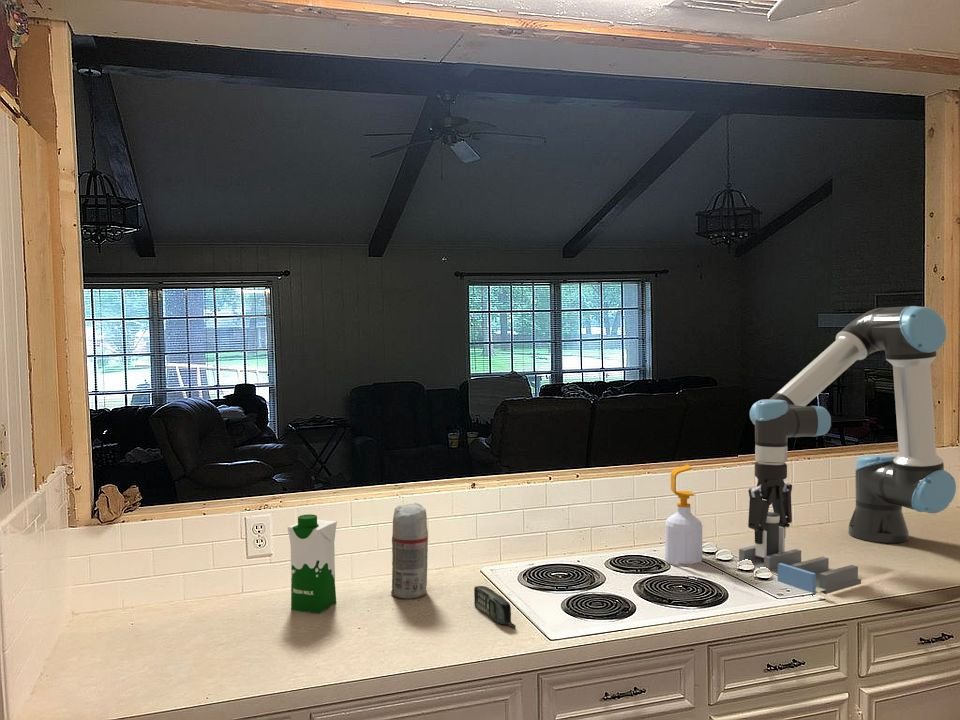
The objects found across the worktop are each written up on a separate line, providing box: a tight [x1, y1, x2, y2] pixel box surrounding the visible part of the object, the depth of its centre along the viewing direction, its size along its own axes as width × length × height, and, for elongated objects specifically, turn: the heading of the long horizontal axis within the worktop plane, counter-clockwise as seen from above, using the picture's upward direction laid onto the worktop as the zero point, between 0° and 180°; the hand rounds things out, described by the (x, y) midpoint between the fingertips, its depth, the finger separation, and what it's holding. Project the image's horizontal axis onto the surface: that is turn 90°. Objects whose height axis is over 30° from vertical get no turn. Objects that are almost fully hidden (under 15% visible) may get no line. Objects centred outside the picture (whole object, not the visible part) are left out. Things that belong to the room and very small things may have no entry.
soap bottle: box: [664, 464, 703, 568], centre depth 193 cm, size 9×9×25 cm
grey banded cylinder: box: [761, 511, 780, 562], centre depth 190 cm, size 4×4×12 cm
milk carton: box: [287, 513, 338, 614], centre depth 164 cm, size 9×9×20 cm
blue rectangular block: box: [777, 563, 817, 597], centre depth 172 cm, size 1×9×5 cm, turn 31°
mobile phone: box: [473, 585, 517, 629], centre depth 158 cm, size 5×3×15 cm
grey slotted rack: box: [736, 544, 862, 595], centre depth 184 cm, size 13×25×4 cm, turn 31°
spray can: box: [390, 502, 429, 600], centre depth 172 cm, size 8×8×20 cm
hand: (770, 554), depth 190 cm, fingers open, 6 cm apart
